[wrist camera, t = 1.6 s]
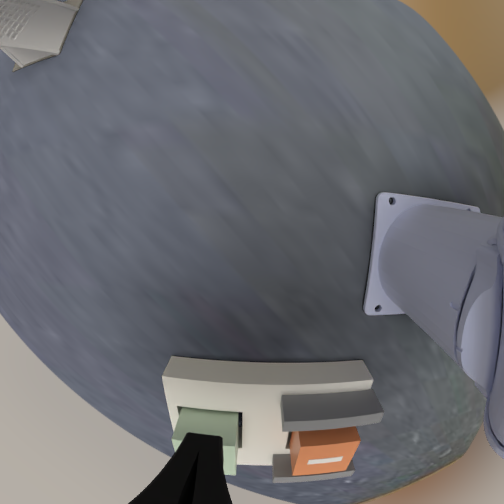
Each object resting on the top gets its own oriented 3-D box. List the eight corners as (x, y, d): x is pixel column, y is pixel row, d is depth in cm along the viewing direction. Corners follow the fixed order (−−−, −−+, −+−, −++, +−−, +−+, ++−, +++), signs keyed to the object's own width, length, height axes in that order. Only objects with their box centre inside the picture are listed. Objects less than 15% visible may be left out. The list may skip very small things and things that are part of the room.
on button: (238, 411, 17) (235, 447, 14) (238, 443, 18) (235, 475, 15) (182, 406, 17) (171, 439, 14) (188, 438, 18) (180, 469, 15)
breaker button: (349, 408, 17) (360, 440, 14) (337, 440, 18) (345, 470, 14) (295, 412, 17) (300, 447, 14) (289, 444, 18) (292, 476, 14)
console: (365, 359, 18) (388, 402, 13) (338, 440, 20) (348, 480, 16) (171, 355, 18) (150, 400, 14) (185, 438, 21) (175, 479, 16)
